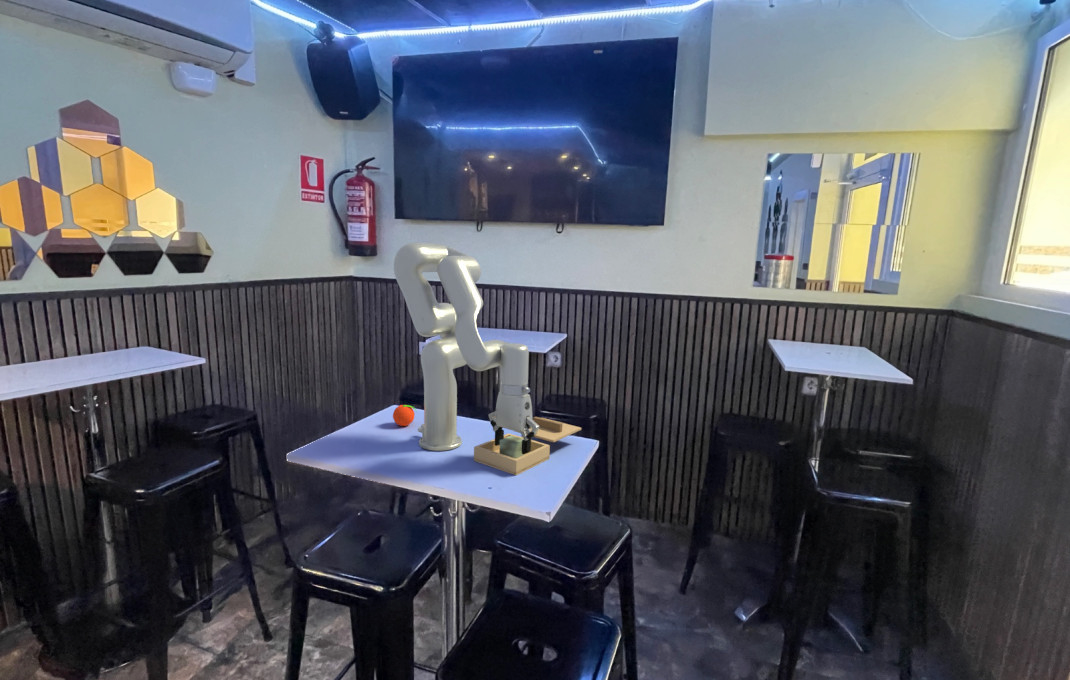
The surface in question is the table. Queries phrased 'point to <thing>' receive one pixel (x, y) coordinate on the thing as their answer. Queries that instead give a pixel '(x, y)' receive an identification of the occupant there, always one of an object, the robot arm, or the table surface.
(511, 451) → the green block
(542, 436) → the mailer lid
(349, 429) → the table surface
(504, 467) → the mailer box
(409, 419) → the clementine
